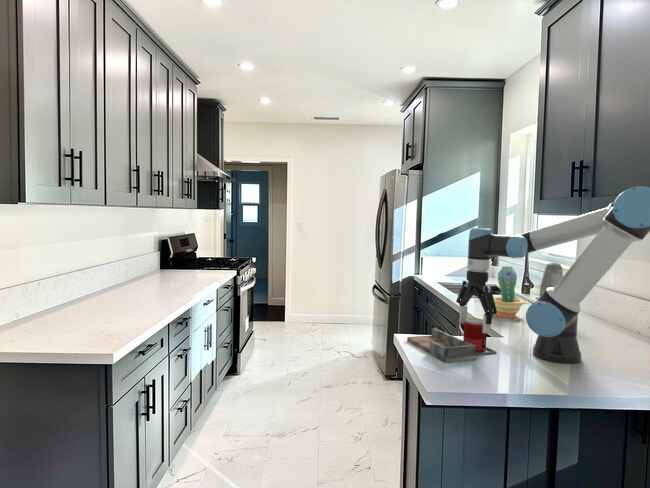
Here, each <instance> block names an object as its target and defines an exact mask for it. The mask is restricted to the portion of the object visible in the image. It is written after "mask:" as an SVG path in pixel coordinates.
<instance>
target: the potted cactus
mask: <svg viewBox="0 0 650 488" xmlns="http://www.w3.org/2000/svg"><path fill="white" fill-rule="evenodd" d="M517 277H518V275H517V273H516V271H515V269H514V268H513V266H512V265H511V266H509V265H506V266H505V265H503V266H502V268H500V270H499V271H498V272H497V283H498V286H499V288H500V295H501V296H493V298H494V302H495V306H496V310H497V314H496V315H497V317H501V318H507V319H508V318H509V319H512V318H516V317H517V314H518V312H520V309H521V307H522V306H523V305H524V303H525V301H524V300H522V299H519V298H515V294H516V293H515V291H516V290H515V288H516V285H517Z"/></svg>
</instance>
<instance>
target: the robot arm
mask: <svg viewBox="0 0 650 488" xmlns="http://www.w3.org/2000/svg"><path fill="white" fill-rule="evenodd" d="M649 233H650V186H646V185H645V186H643V185H642V186H641V185H638V186H633V187H629V188H628V189H625V190H624V191H623V192H621V193H619V194H618V196H617V197H616V198H615V200H614V201H613V202H610V203H609V205H608V206H607V207H604V208H601V209H597V210H595V211H591V212H588V213H585V214H581V215H578V216H575V217H571V218H569V219H566V220H562V221H558V222H554V223H552V224H548V225H545V226H542V227H539V228H536V229H533V230H529V231H526V232H522V233H520V234H513V235H509V234H493V233H492V230H491V228H481V227H473V228H470V230H469V235H468V245H467V246H468V247H467V249H468V250H467V252H468V253H467V263H466V264H467V266H466V267H467V268H466V269H467V271H466V280H462V285H461V288H460V290H459V292H458V293H459V294H458V296H457V299H456V304H458V306H459V321H458V322H459V324H464V320H465V319H466V318H468V303H469V302H470V300H471V299H472V298H473V296H475V297H477V299H479V302H480V304H481V306H482V308H483V311H484V314H483V315H482V316H483V332H482V333H487V334H491V329H492V326H491V325H492V323H493V316H494V315H497V310H496V306H495V302H494V295H493V287H492V286H486V285H487V283H488V282H489V275H490V274H489V272H488V271H490V259H491V256H493V257H494V256H496V257H504V258H511V259H522V258H524V257H526V255H528V254H530V253H533V252H537V251H540V250H544V249H547V248H552V247H555V246H557V245H558V246H560V245H563V244H565V243H570V242H573V241H578V240H582V239H585V238H588V237H592V236H594V238H593V239H592V240H591V241H590V243H589V244H588V245H587V247H586V248H585V249H584V250H583V251H582V252H581V254H579V256H578V257H577V259H575V261H574V262H573V263H572V265H571V266H570V267H569V269H568V270H566V272H565V274H563V277H562V278H561V280H560V281H559V282H558V283H557V285H556V286H555V287H552V288H547V289H546V290H545V291H543V292H542V295H541V296H540V295H539V297H538V298H537V300H536V301H535V302H533V303H531V304H530V305H529V307H528V308H527V310H526V312H525V321H526V323H527V326H528V328H529V329H530V330H531V331H532V332H533V333H534V334H536V335H537V338H536V340H535V344H534V345H533V346H532V347H533V348H532V354H533V355H534V356H536V357H537V358H539V359H542V360H546V361H549V362H555V363H561V364H576V363H577V364H578V363H580V362H581V361H582V352H581V351H580V346H579V342H578V338H577V337H578V336H577V335H578V322H579V313H580V312H581V311H582V309H581V305H580V304H581V303H582V302H583V301H584V300H585V299H586V297H587V296H588V294H589V293H590V292H591V291H592V290H593V289H594V288H595V286H596V285H597V284H598V283H599V282H600V281H601V279H602V278H603V277H604V276H605V275H606V274H607V273H608V272H609V270H610V269H611V268H612V267H613V266H614V264H615V263H617V262H618V260H619V259H620V258H621V256H622V255H623V254H624V253H625V252H626V251H627V249H629V247H630V246H631V245H632V244H633V243H636V242H642V240H644V239H645V237H647V235H648V234H649ZM595 235H596V236H595Z"/></svg>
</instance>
